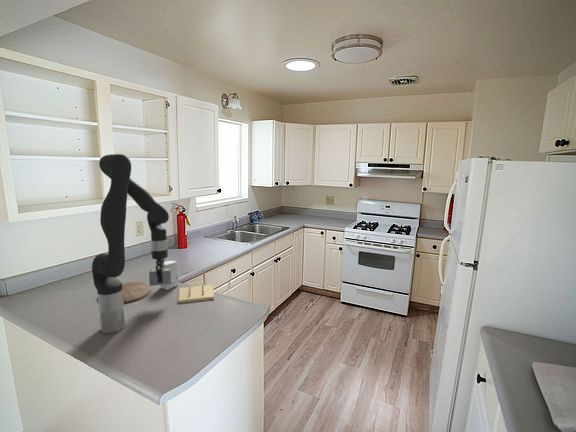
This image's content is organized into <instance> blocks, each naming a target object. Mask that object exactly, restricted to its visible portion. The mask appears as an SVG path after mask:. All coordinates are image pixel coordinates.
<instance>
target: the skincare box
mask: <svg viewBox="0 0 576 432" xmlns="http://www.w3.org/2000/svg"><path fill="white" fill-rule="evenodd" d="M168 268H171V276H172V282H171V284H166V285H159V286H160V287H159V288H160V289H163V290H166V291H167V290H168V291H169V290H170V289H173V288H174V287H177V286H179V278H178V277H179V276H178V275H179V274H178V261H175V260H166V261H165V263H164V269H168Z"/></svg>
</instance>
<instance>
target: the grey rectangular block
mask: <svg viewBox="0 0 576 432" xmlns="http://www.w3.org/2000/svg"><path fill="white" fill-rule="evenodd" d="M158 273H161V272H158ZM162 277H163V282H162V283H158V276H157V275H156V268H155V269H150V270H149V271H148V278H149V281H148V282H149V285H150V287H153V286H160V285H166V284H171V282H172V276H171V268H168V269H164V270H163V276H162Z"/></svg>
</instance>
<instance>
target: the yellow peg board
mask: <svg viewBox="0 0 576 432" xmlns="http://www.w3.org/2000/svg"><path fill="white" fill-rule="evenodd" d="M210 299H211V300H214V299H215V292H214V287H213V284H207V285H204V284H201V285H199V286H198V285H195V286H192V285H188V286H187V287H180V288H179V291H178V299H177V300H178V301H177V303H178V304H184V303H191V302H201V301H209V300H210ZM211 300H210V301H211Z"/></svg>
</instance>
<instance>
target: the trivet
mask: <svg viewBox="0 0 576 432" xmlns="http://www.w3.org/2000/svg"><path fill="white" fill-rule="evenodd" d="M122 290H123V302H124V305H125V304H130V303H133V302H137V301H140V300H142V299H144V298H146V297H147V296H149V294H150V293H151V292H152V291H151V290H152V286H150V284H148V283H145V282H141V281H140V282H139V281H135V282H134V281H133V282H132V281H131V282H125V283H122Z"/></svg>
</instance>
